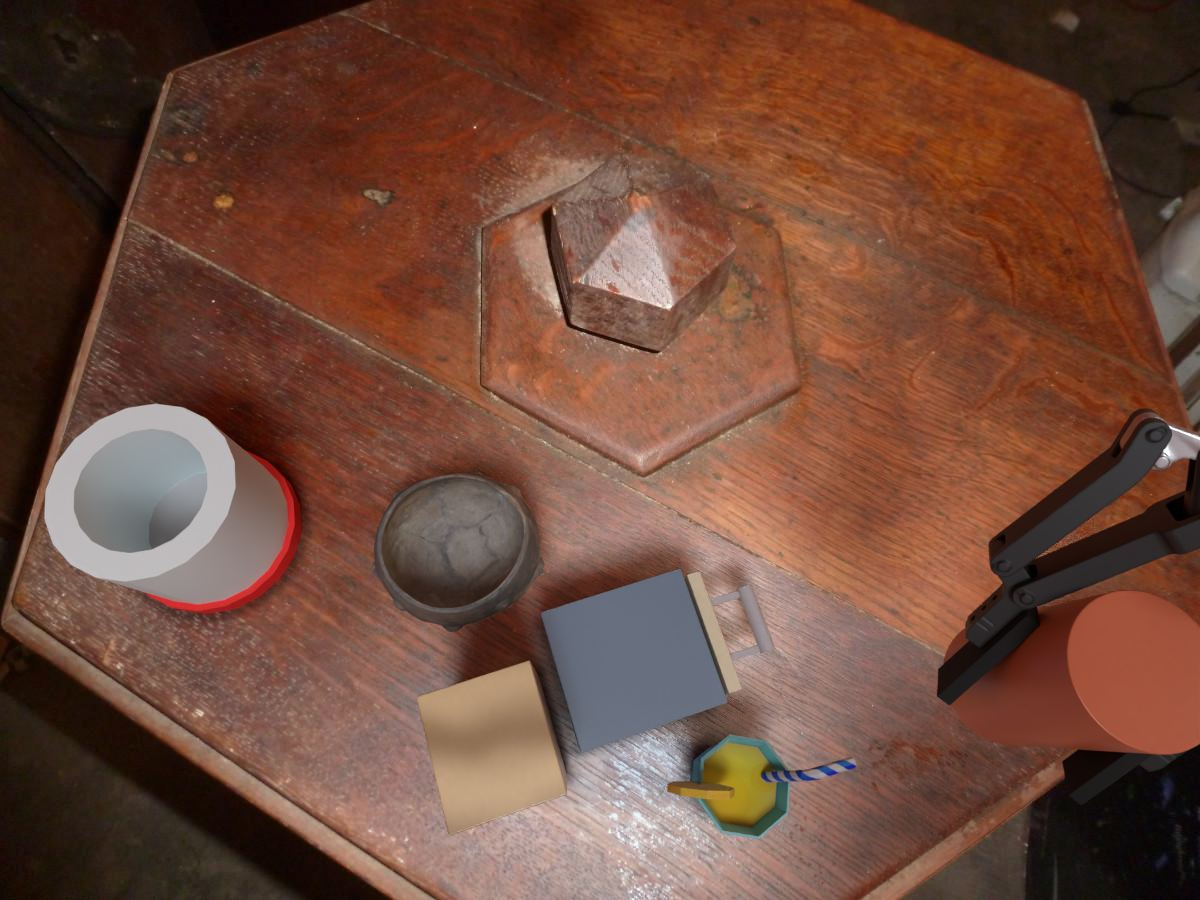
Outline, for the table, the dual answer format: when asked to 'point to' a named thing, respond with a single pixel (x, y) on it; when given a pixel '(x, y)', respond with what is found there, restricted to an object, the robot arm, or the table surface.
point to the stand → (492, 746)
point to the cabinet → (632, 659)
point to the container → (172, 510)
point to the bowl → (457, 549)
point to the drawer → (714, 632)
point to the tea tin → (1094, 679)
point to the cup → (747, 784)
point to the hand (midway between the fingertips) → (1006, 733)
